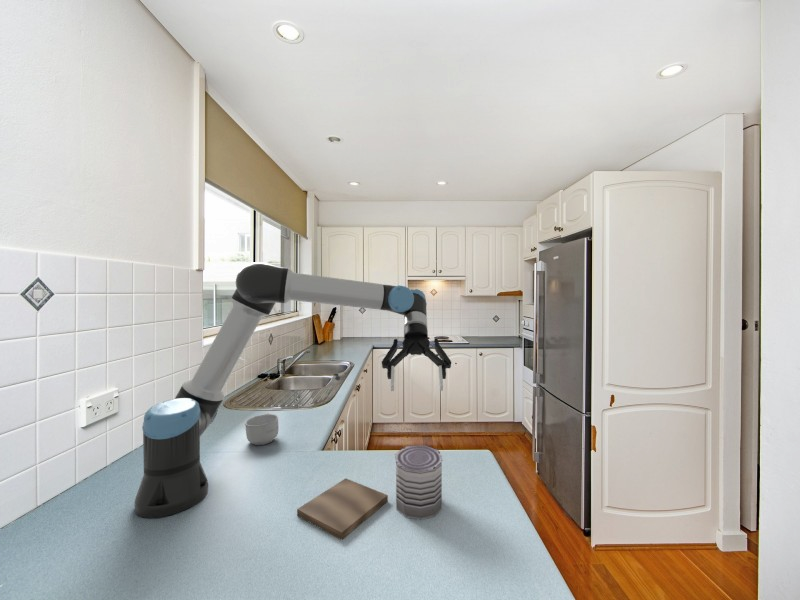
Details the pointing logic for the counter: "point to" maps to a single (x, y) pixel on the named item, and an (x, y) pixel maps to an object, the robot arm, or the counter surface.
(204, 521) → the counter surface
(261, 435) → the teacup
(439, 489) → the can
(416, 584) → the counter surface
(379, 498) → the walnut board
